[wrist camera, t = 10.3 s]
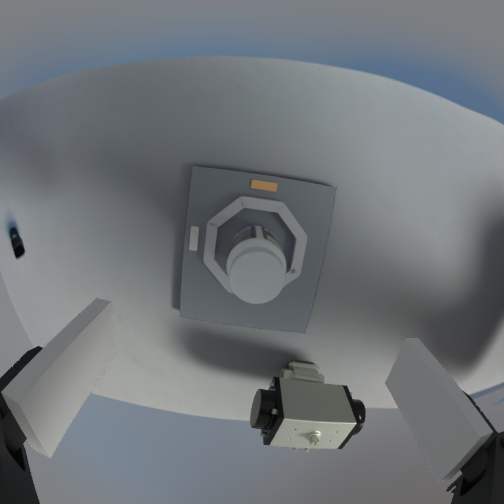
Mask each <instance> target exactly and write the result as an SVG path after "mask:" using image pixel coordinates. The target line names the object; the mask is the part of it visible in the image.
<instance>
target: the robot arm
mask: <svg viewBox="0 0 504 504" xmlns="http://www.w3.org/2000/svg"><path fill="white" fill-rule="evenodd" d="M115 355H116V345H115V336H114V326H113V315H112V302H111V301H106V300H102V299H98V298H96V299H95V300H94V301H93V302H92V303H91V304H90V305H89V306H87V307H86V308H85V309H84V310H83V311H82V312H81V313H80V314H79V315H78V316H77V317H75V318H74V319H73V320H72V321H71V322H70V323H69V324H68V325H67V326H66V327H65V328H64V329H63V330H62V331H61V332H59V333H58V334H57V335H56V336H55V337H54V338H53V339H52V340H51V341H50V342H49V343H48V344H47V345H46V346H45V347H44V348H42V347H39V346H38V347H36V348H33V349H31V350H29V351H27V352H26V353H25V354H24V355H23V356H22V357H21V358H20V360H19V361H17V362H16V363H15V364H14V365H13V367H11V368H10V369H9V370H8V371H7V372H6V373H5V374H4V375H3V376H2V377H1V378H0V504H40V503H39V500H38V496H37V493H36V490H35V487H34V483H33V480H32V476H31V472H30V468H29V464H28V459H27V455H26V450H25V448H24V445H23V443H24V442H25V440H26V439H27V440H28V442H29V443H30V445H31V446H32V448H33V449H35V450H37V451H38V452H40V453H42V454H43V455H45V456H47V457H49V458H50V457H51V456H52V454H53V452H54V451H55V449H56V447H57V446H58V444H59V442H60V440H61V439H62V437H63V435H64V434H65V432H66V430H67V429H68V427H69V426H70V424H71V422H72V421H73V419H74V417H75V416H76V414H77V413H78V411H79V409H80V408H81V406H82V404H83V403H84V402H85V400H86V398H87V397H88V395H89V394H90V392H91V391H92V389H93V388H94V386H95V385H96V383H97V382H98V380H99V379H100V377H101V376H102V374H103V373H104V371H105V370H106V368H107V367H108V365H109V364H110V362H111V361H112V359H113V358H114V356H115ZM385 384H386V386H387V387H388V389H389V391H390V393H391V395H392V396H393V398H394V400H395V402H396V404H397V406H398V408H399V409H400V411H401V413H402V415H403V417H404V419H405V421H406V423H407V425H408V426H409V428H410V430H411V432H412V434H413V436H414V438H415V440H416V442H417V444H418V446H419V448H420V450H421V452H422V454H423V456H424V458H425V460H426V462H427V464H428V466H429V469H430V470H431V473H432V475H433V477H434V479H435V481H436V483H437V484H438V483H441V482H444V481H446V480H449V479H451V478H452V477H453V476H454V475H455V474H456V473H457V472H458V471H459V470H461V472H462V475H461V476H460V477H459V478H457V480H456V481H454V482H453V483H452V484H451V485H450V486H449V487H448V489H447V490H446V491H449V490H451V489H452V488H453V487H454V486H456V488H455V489H454V490H453V491H452V493H454V496H453V499H452V502H451V504H504V432H501V433H499V434H498V432H497V431H496V430H495V429H494V427H493V426H492V425H491V423H490V422H489V420H488V419H487V418H486V416H485V415H484V414H483V412H480V408H479V407H478V406H476V403H475V402H474V401H473V399H472V398H471V397H470V396H469V395H468V394H466V393H465V392H464V391H462V390H461V389H460V387H459V386H458V385H457V384H456V382H455V381H454V380H453V379H452V377H451V376H450V375H449V374H448V373H447V371H446V370H445V369H444V368H443V366H442V365H441V364H440V363H439V362H438V361H437V359H436V358H435V357H434V356H433V355H432V353H431V352H430V351H429V350H428V349H427V348H426V346H425V345H424V344H423V343H422V342H421V341H420V340H419V338H405V340H404V343H403V345H402V347H401V350H400V352H399V354H398V357H397V359H396V361H395V363H394V365H393V368H392V370H391V372H390V374H389V376H388V378H387V380H386V382H385Z"/></svg>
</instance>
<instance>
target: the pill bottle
mask: <svg viewBox="0 0 504 504" xmlns="http://www.w3.org/2000/svg"><path fill="white" fill-rule="evenodd" d="M226 270H227V275H228V278H229V283H230V286H231V289H232V291H233V292H234V293H235V295H236V296H237V297H238V298H240V299H241V300H243V301H245V302H248V303H252V304H262V303H266V302H268V301H270V300H272V299H274V298H275V297H276V296H277V295H278V294H279V293H280V292H281V290H282V288H283V286H284V282H285V274H286V259H285V256H284V254H283V252H282V249H281V247H280V244H279V242H278V239H277V238H276V236H275V235H274V233H273V232H272V231H270V230H269V229H267V228H265V227H263V226H258V225H252V226H247V227H245V228H243V229H241V230H240V231H239V232H238V233H237V234H236V235H235V237H234V238H233V241H232V243H231V247H230V251H229V255H228V258H227V263H226Z"/></svg>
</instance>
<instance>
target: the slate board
mask: <svg viewBox="0 0 504 504" xmlns="http://www.w3.org/2000/svg"><path fill="white" fill-rule="evenodd" d="M336 189H337V188H335V187H330V186H325V185H320V184H315V183H310V182H304V181H298V180H293V179H287V178H281V177H274V176H268V175H261V174H255V173H248V172H240V171H233V170H225V169H216V168H207V167H198V166H192V174H191V181H190V190H189V198H188V208H187V217H186V227H185V238H184V250H183V264H182V279H181V296H180V317H184V318H190V319H196V320H202V321H208V322H215V323H222V324H229V325H236V326H244V327H252V328H260V329H269V330H278V331H288V332H298V333H305V332H306V328H307V324H308V320H309V316H310V313H311V309H312V305H313V301H314V296H315V292H316V288H317V284H318V280H319V275H320V271H321V266H322V262H323V257H324V252H325V248H326V243H327V238H328V233H329V228H330V223H331V217H332V212H333V207H334V201H335V195H336ZM252 225H258V226H263V227H265V228H267V229H269V230H270V231H272V232H273V233H274V235H275V236H276V238H277V239H278V242H279V244H280V247H281V249H282V252H283V254H284V256H285V259H286V274H285V282H284V286H283V288H282V290H281V292H280V293H279V294H278V295H277V296H276V297H275V298H274V299H272V300H270V301H268V302H266V303H262V304H252V303H248V302H245V301H243V300H241V299H240V298H238V297H237V296H236V295H235V293H234V292H233V291H232V289H231V286H230V283H229V278H228V275H227V270H226V263H227V258H228V255H229V251H230V247H231V243H232V241H233V238H234V237H235V235H236V234H237V233H238V232H239V231H240V230H241V229H243V228H245V227H247V226H252Z"/></svg>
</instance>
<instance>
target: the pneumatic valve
mask: <svg viewBox="0 0 504 504" xmlns="http://www.w3.org/2000/svg"><path fill="white" fill-rule="evenodd" d="M288 367H290V368H289V369H285V368H283V369H282V370H281V371H280V374H279V377H273V380H272V382H271V383H270V387H269V389H268V390H264V389H258V390H257V392H256V394H255V397H254V400H253V404H252V409H251V416H250V424H251V427H252V428H256V429H261V437H263V444H264V445H271V446H282V447H292V450H294V451H298V450H299V448H304V451H306V452H309V451H310V450H311V448H316V449H342V448H343V447H344V445H345V444H346V443H347V442H348V440H349V439H350V438H351V436H352V435H355V434H357V433H358V432H359V431H360V430H361V429H362V427H363V424H364V421H365V406H364V404H363V402H362V401H360V400H356V399H352V397H351V395H352V393H351V392H349V389H348V387H347V386H344V385H333V384H324V375H323V374H319V373H318V372H317V371H318V370H319V367H318V366H316V365H315V364H309V363H302V362H296V361H292V362H289V364H288Z"/></svg>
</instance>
